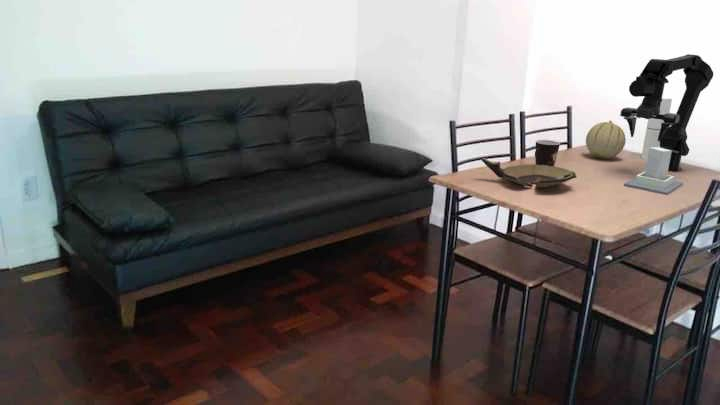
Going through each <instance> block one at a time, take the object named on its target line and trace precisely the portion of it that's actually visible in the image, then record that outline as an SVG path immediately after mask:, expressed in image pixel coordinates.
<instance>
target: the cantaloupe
mask: <svg viewBox="0 0 720 405" xmlns="http://www.w3.org/2000/svg"><path fill="white" fill-rule="evenodd" d="M585 138H586V139H585V145H586V148H587V150H588V151H589V153H590V154H591V155H593V156H594V157H596V158H598V159H611V158H615V157H616V156H618V155H619V154H620V153H621V152H622V151H623V150H624V148H625V145H626V143H627V142H626V134H625V132H624V130H623V129H622V127H620V126H619V125H617V124H615V123H613V121H612V120H609V121H603V122H599V123H596V124H594V125H593V126H592V127H591V128H590V129H589V131H588V132H587V134H586V137H585Z"/></svg>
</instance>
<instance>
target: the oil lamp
mask: <svg viewBox="0 0 720 405" xmlns="http://www.w3.org/2000/svg"><path fill="white" fill-rule="evenodd" d="M480 160H481V162H483V164H484V165H485V166H487V168H489V170H491V171H492V172H493V174H495V175H496V176H497V177H498V178H500V179H508V180H509V181H511V182H513V183H516V184H518V185H522V186H524V187H530V188H533V187H535V188H538V189H539V188H548V187H549V188H550V187H553V186H557V185H560V184H562V183H566V182H568V181H570V180H573V179H576V178H577V175H576V172H574V171H571V170H569V169H566V168H562V167H558V166H555V165H554V166H549V165H535V164H519V165H513V166H507V167H505V168H501V161H491V160H488V159H487V158H484V157H482V158H480ZM529 183H532V184H529ZM534 185H535V186H534Z"/></svg>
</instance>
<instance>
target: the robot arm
mask: <svg viewBox="0 0 720 405" xmlns="http://www.w3.org/2000/svg"><path fill="white" fill-rule="evenodd" d="M678 70H683V74H684V76H685V78H684V85H685V90H684V93H683V96H682V98H681V101H680V104H679V106H678V108H677V111H676V113H671V112H669V113H667V114H665V115H663V114H659V113H660V105H661V102H662V96H663V94H664V89H665V84H668V83H669V80H668V79H667V77H669V76H671V75H672V74H673V73H674V72H675V71H678ZM713 77H714V71H713V69H712V68H711V66H710V64H709V63H707V62H706V61H704V59H702V57H701V56H700V55H698V54H685V55H682V56H678V57H673V58H669V59H663V58H662V59H661V58H660V59H659V58H651V59H649V61H648V62H647V63H646V65H645V66H644V68H643V70H642V71H641V73H640V74H639V76H636V78H635V80H633V81H632V82H631V83H630V85H629V86H628V88H629V89H628V91H629V94H630V95H631V96H633V97H635V98H637V97H643V99H642V102H641V103H640V104H639V105H638V107H636V108H634V107H624V108H622V109H621V110H620V114H619V117H623V119H624V120H625V121H627V124H628V128H629V132H630V133H629V134H630V137H631V138H634V135H635V130H636V126H637V125H636V124H637V119H645V120H648V119H650V118H654V119H661V120H663V121H664V122H663V123H661V129H660V133H659V136H658V141H660V148H664V149H667V150H671V151H672V152H671V158H670V163H669V168H668V171H672V172H678V171H681V170H682V169H683V167H680V165H681V161H682V157H686V156H688V154H690V153H689V152H690V148H689V146H688V144H687V139H688V134H687V127H688V124H689V121H690V119H691V117H692V114H693V112H694V109H695V107H696V104H697V102H698V99H699V96H700V94H701V92H702V91H703V90H705V89H706V88H707V87H708V86H709V85H710V83H711V82H712V79H713Z"/></svg>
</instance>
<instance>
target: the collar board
mask: <svg viewBox="0 0 720 405" xmlns="http://www.w3.org/2000/svg"><path fill="white" fill-rule="evenodd" d="M644 174H645V170H644V171H642V172H640V173H639V174H637V175H636V177H634V178H632V179H630V180H628V181H626V182H624V183H623V186H624V187H628V188H633V189H638V190H642V191H648V192H651V193H656V194H661V195H667V196H668V195H669V194H671V193H672V192H674V191H676V190H677V189H679V188H680V187H681V186H683V185H684V182H683V181H679V180H678V181H677V180H675V176H674V175H669V174H667V178H666V180H659V179H654V178H649V177H644Z"/></svg>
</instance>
